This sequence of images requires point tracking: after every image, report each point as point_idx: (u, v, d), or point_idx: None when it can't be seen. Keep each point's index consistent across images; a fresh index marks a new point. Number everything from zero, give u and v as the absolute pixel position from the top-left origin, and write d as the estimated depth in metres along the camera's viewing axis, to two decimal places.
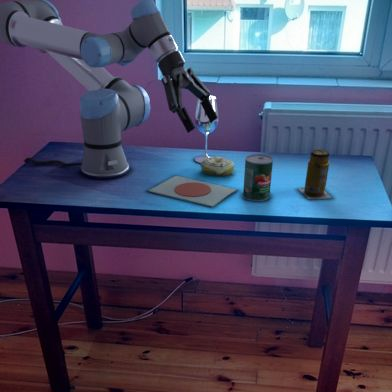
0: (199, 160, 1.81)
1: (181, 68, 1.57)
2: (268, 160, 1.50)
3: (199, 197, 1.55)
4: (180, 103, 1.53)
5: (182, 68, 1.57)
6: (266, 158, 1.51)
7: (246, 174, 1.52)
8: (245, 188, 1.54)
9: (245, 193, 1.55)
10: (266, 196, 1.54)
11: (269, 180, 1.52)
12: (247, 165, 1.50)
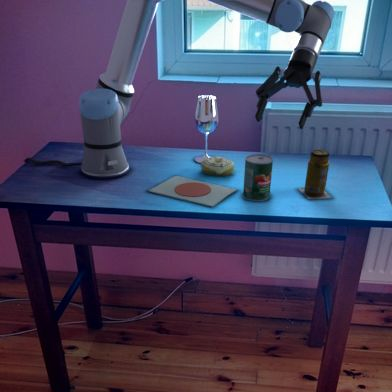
0: (199, 160, 1.81)
1: None
2: (268, 160, 1.50)
3: (199, 197, 1.55)
4: None
5: None
6: (266, 158, 1.51)
7: (246, 174, 1.52)
8: (245, 188, 1.54)
9: (245, 193, 1.55)
10: (266, 196, 1.54)
11: (269, 180, 1.52)
12: (247, 165, 1.50)
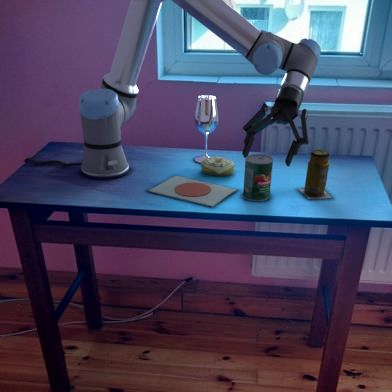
0: (199, 160, 1.81)
1: None
2: (268, 160, 1.50)
3: (199, 197, 1.55)
4: None
5: None
6: (266, 158, 1.51)
7: (246, 174, 1.52)
8: (245, 188, 1.54)
9: (245, 193, 1.55)
10: (266, 196, 1.54)
11: (269, 180, 1.52)
12: (247, 165, 1.50)
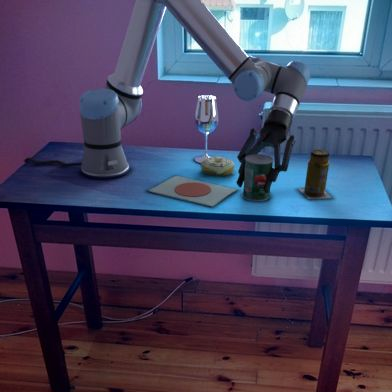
0: (199, 160, 1.81)
1: None
2: (268, 160, 1.50)
3: (199, 197, 1.55)
4: None
5: None
6: (266, 158, 1.51)
7: (246, 174, 1.52)
8: (245, 188, 1.54)
9: (245, 193, 1.55)
10: (266, 196, 1.54)
11: None
12: (247, 165, 1.50)
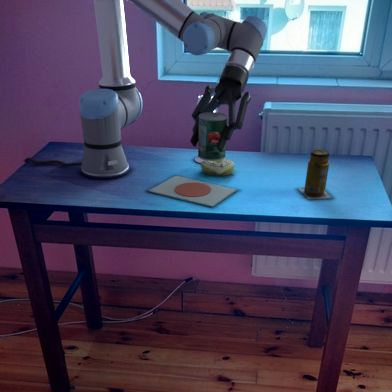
0: (199, 160, 1.81)
1: None
2: (222, 117, 1.45)
3: (199, 197, 1.55)
4: None
5: None
6: (220, 115, 1.47)
7: (200, 132, 1.47)
8: (199, 147, 1.50)
9: (199, 152, 1.50)
10: (221, 156, 1.50)
11: None
12: (200, 123, 1.45)
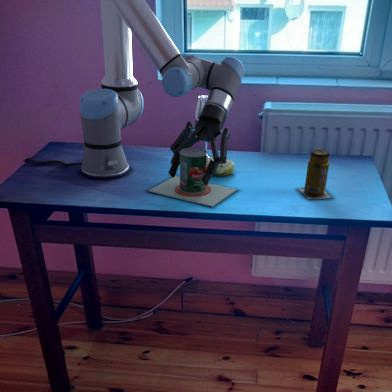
0: None
1: None
2: (202, 153, 1.52)
3: (199, 197, 1.55)
4: None
5: None
6: (200, 151, 1.54)
7: (181, 167, 1.54)
8: (181, 181, 1.56)
9: (181, 186, 1.57)
10: (201, 189, 1.57)
11: (204, 173, 1.54)
12: (181, 158, 1.52)
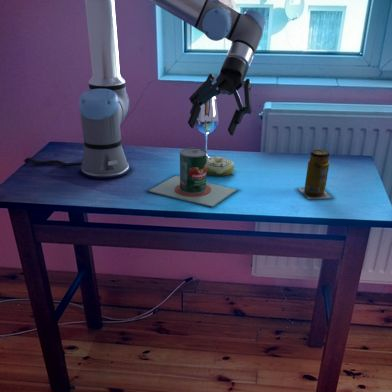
0: None
1: None
2: (202, 153, 1.52)
3: (199, 197, 1.55)
4: None
5: None
6: (200, 151, 1.54)
7: (181, 167, 1.54)
8: (181, 181, 1.56)
9: (181, 186, 1.57)
10: (201, 189, 1.57)
11: (204, 173, 1.54)
12: (181, 158, 1.52)
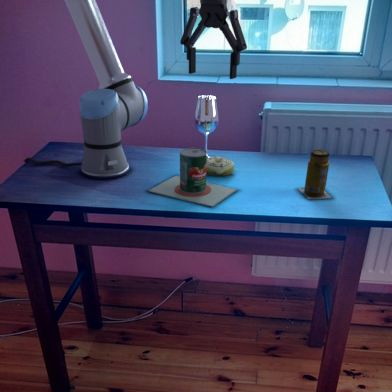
0: None
1: None
2: (202, 153, 1.52)
3: (199, 197, 1.55)
4: None
5: None
6: (200, 151, 1.54)
7: (181, 167, 1.54)
8: (181, 181, 1.56)
9: (181, 186, 1.57)
10: (201, 189, 1.57)
11: (204, 173, 1.54)
12: (181, 158, 1.52)
